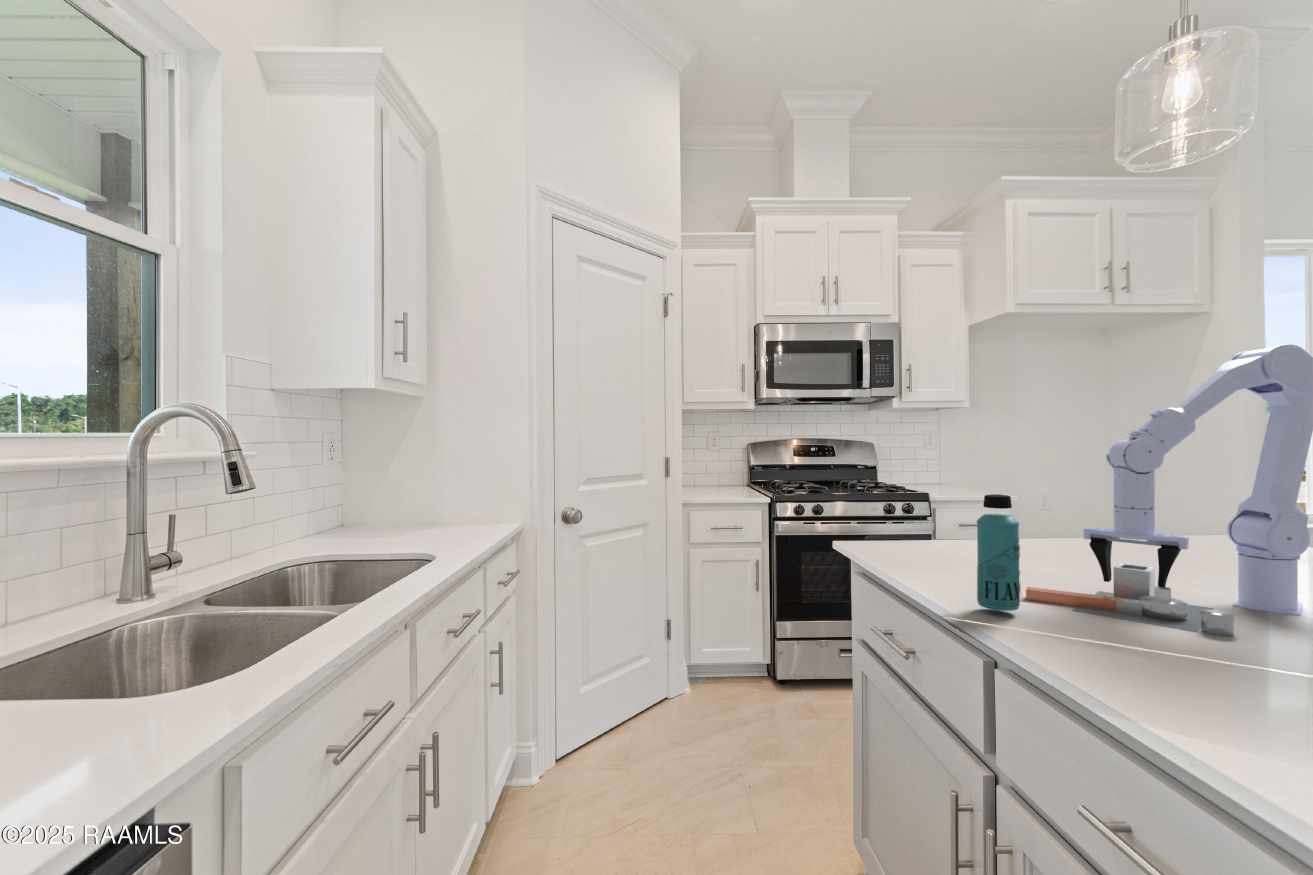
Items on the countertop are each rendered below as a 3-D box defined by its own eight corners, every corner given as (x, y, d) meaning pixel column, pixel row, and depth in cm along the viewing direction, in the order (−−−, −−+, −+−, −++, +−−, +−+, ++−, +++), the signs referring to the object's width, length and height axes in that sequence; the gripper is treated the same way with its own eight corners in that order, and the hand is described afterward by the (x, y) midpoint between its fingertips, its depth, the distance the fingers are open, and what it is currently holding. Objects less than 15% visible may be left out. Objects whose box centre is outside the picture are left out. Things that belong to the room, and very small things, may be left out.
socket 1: (1120, 595, 112) (1120, 563, 112) (1155, 601, 109) (1155, 567, 109) (1113, 601, 109) (1113, 567, 109) (1149, 606, 105) (1149, 571, 105)
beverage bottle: (978, 617, 101) (977, 495, 101) (974, 607, 107) (973, 492, 107) (1024, 622, 99) (1023, 497, 99) (1017, 610, 105) (1016, 493, 105)
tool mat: (1099, 592, 116) (1099, 590, 116) (1213, 609, 104) (1213, 608, 104) (1071, 612, 104) (1071, 610, 104) (1197, 634, 92) (1197, 632, 92)
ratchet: (1185, 614, 101) (1185, 587, 101) (1188, 623, 96) (1188, 594, 96) (1029, 594, 114) (1029, 570, 114) (1024, 601, 109) (1024, 576, 109)
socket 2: (1202, 629, 95) (1202, 608, 94) (1235, 634, 92) (1235, 613, 92) (1199, 634, 92) (1199, 613, 92) (1232, 640, 89) (1232, 618, 89)
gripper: (1078, 505, 111) (1079, 581, 112) (1183, 513, 101) (1183, 596, 101) (1089, 502, 116) (1089, 574, 116) (1190, 509, 106) (1190, 589, 106)
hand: (1133, 584), depth 109 cm, fingers open, 7 cm apart
